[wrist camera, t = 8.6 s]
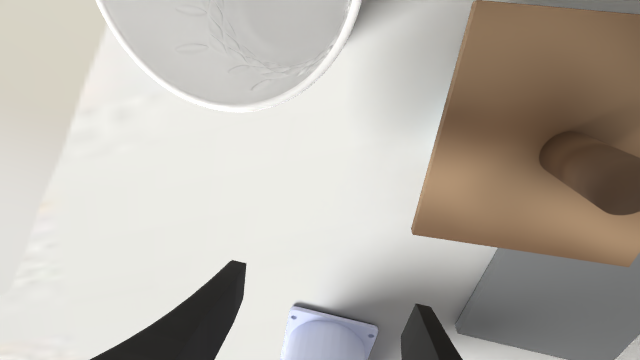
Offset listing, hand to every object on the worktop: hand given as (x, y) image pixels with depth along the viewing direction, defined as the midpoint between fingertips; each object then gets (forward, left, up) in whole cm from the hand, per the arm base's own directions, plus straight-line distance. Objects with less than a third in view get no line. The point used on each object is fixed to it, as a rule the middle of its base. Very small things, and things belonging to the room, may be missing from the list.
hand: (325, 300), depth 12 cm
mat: (-4, -18, -10) cm, 21 cm away
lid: (+7, -10, -7) cm, 14 cm away
